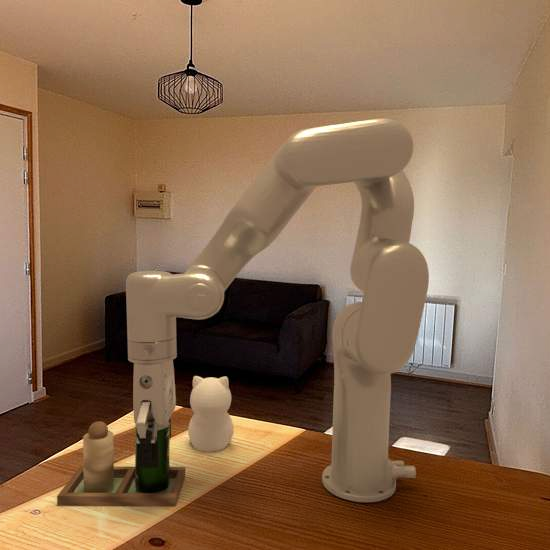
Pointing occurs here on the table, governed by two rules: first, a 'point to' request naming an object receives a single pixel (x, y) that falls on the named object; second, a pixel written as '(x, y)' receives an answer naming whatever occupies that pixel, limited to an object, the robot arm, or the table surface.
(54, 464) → the table surface
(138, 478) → the guarana soda can
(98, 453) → the pepper mill
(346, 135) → the robot arm
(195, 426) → the cat figurine
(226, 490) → the table surface
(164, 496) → the caddy
